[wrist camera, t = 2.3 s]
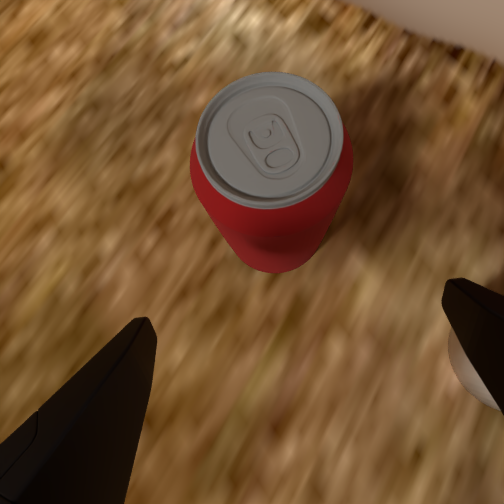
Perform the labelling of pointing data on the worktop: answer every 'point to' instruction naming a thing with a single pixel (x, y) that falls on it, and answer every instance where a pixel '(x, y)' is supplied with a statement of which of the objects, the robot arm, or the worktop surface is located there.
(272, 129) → the beverage can
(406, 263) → the worktop surface
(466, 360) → the sugar jar
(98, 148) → the worktop surface
